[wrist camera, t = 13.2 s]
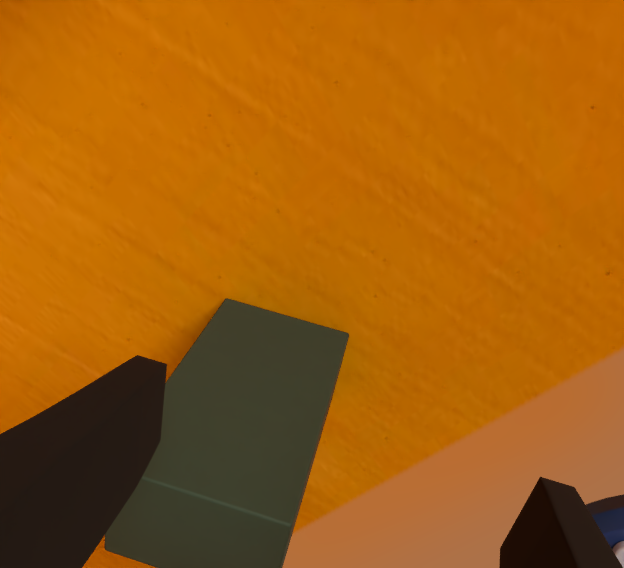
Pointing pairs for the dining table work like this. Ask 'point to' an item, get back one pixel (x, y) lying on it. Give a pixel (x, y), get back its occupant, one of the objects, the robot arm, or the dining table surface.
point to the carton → (233, 444)
